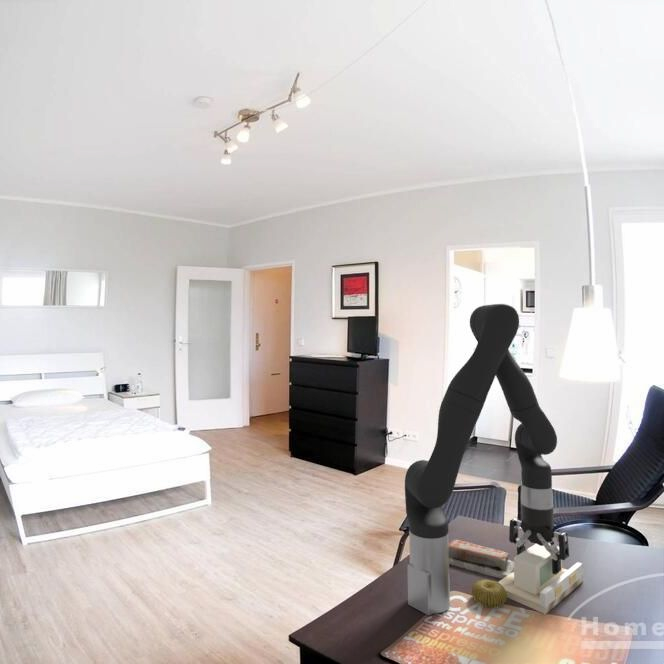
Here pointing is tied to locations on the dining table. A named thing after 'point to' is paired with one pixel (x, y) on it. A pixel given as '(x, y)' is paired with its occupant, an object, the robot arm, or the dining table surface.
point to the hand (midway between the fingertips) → (538, 567)
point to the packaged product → (480, 559)
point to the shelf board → (532, 599)
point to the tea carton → (534, 569)
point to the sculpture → (489, 593)
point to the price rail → (561, 584)
